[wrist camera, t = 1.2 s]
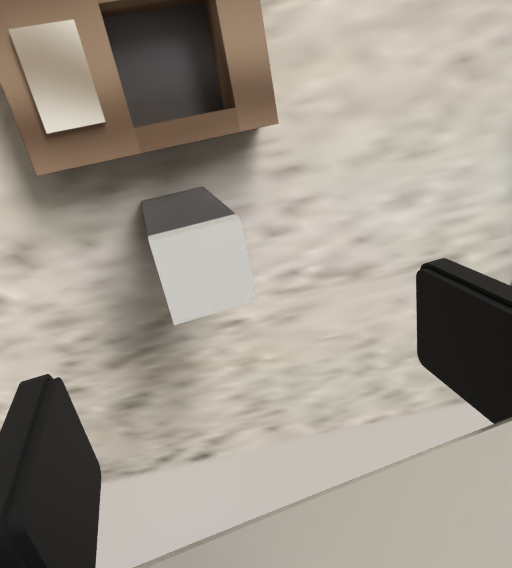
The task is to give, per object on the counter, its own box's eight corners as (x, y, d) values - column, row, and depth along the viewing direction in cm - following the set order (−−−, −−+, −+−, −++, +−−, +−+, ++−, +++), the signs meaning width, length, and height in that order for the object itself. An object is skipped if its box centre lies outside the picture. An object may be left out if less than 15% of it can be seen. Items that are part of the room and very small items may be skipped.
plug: (216, 244, 29) (257, 300, 20) (158, 259, 28) (174, 325, 19) (203, 186, 27) (241, 218, 18) (141, 201, 26) (149, 242, 17)
